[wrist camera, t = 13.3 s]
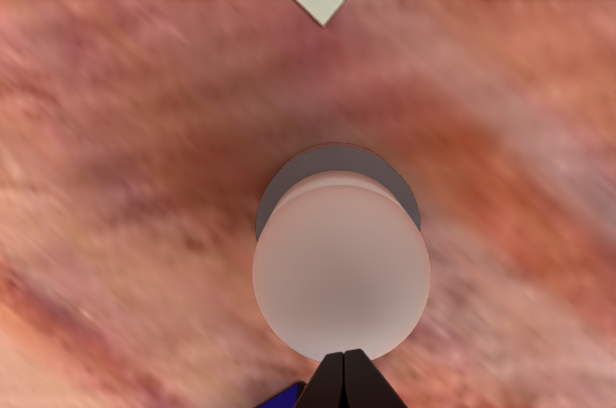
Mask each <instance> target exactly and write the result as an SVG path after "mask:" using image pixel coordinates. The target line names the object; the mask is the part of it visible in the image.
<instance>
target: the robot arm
mask: <svg viewBox="0 0 616 408" xmlns="http://www.w3.org/2000/svg"><path fill="white" fill-rule="evenodd" d="M293 408H408V407H407V405H406V404H405V403H404V402H403V400H402V399H401V398H400V397H399V395H398V394H397V393H396V392H395V390H394V389H393V388H392V386H391V385H390V384H389V383H388V381H387V380H386V379H385V378H384V376H383V375H382V374H381V372H380V371H379V370H378V369H377V367H376V366H375V365H374V364H373V362H372V361H371V360H370V358H369V357H368V356H367V355H366V353H365V352H364V351H363V350H362V349H360V348H359V349H353V350H347V351H345V353H343V352H335V353H329V354H326V355H325V357H324V358H323V360H322V361H321V363H320V365H319V366H318V368H317V370H316V371H315V373H314V374H313V376H312V378H311V379H310V381H309V383H308V384H307V386H306V387H305V389H304V391H303V392H302V394H301V396H300V397H299V399H298V400H297V402H296V404H295V405H294V407H293Z"/></svg>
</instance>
